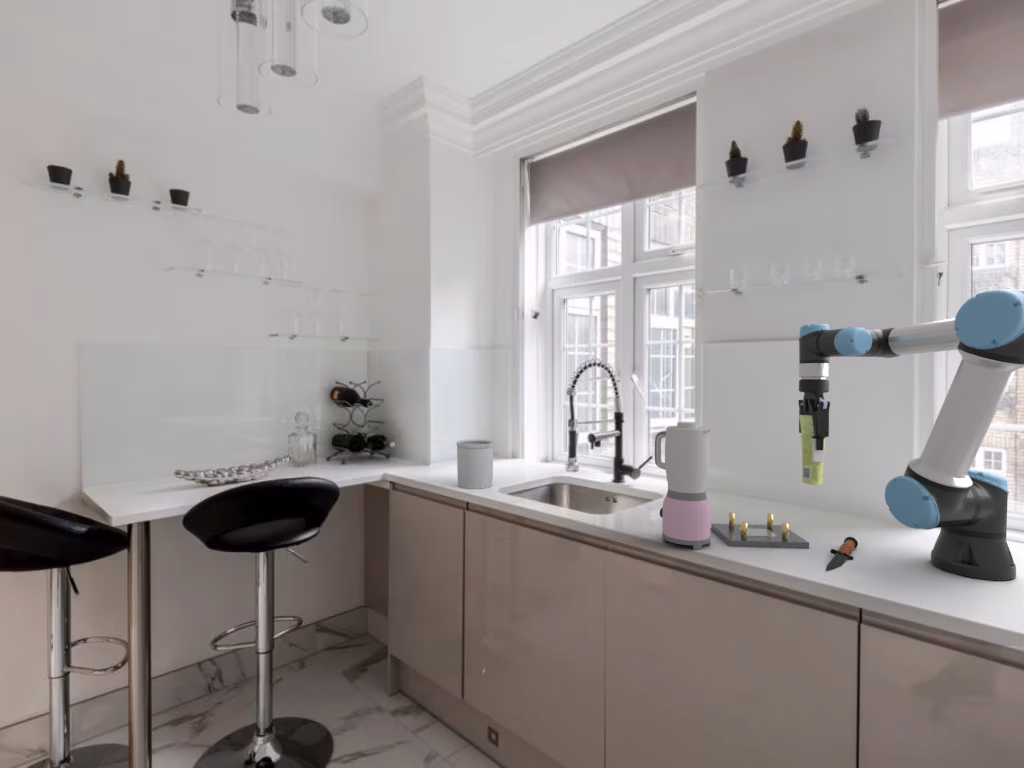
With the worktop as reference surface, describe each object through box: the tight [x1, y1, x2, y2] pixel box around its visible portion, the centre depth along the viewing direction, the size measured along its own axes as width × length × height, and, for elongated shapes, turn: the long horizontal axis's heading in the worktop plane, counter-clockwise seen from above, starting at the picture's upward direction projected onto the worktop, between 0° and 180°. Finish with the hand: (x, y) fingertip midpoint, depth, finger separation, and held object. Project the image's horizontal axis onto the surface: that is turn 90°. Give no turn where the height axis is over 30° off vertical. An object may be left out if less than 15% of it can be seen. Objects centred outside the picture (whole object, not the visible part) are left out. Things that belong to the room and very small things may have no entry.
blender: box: [654, 421, 712, 551], centre depth 145 cm, size 16×12×32 cm
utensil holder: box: [456, 438, 495, 490], centre depth 215 cm, size 15×15×18 cm
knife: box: [825, 536, 859, 572], centre depth 132 cm, size 25×3×5 cm
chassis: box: [710, 511, 810, 549], centre depth 148 cm, size 16×20×6 cm
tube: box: [798, 414, 827, 486], centre depth 155 cm, size 6×5×20 cm
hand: (813, 459), depth 155 cm, fingers closed on tube, 5 cm apart
